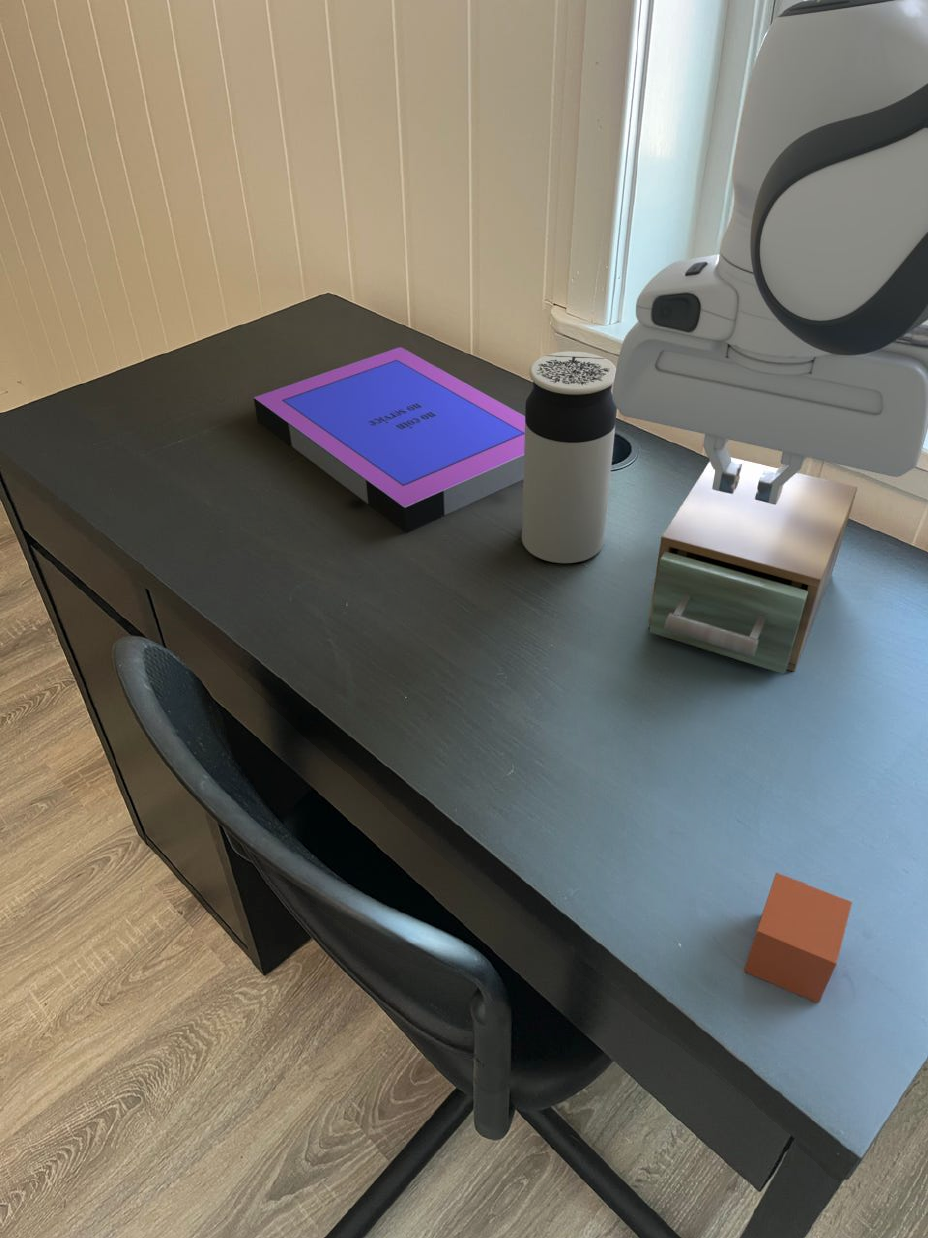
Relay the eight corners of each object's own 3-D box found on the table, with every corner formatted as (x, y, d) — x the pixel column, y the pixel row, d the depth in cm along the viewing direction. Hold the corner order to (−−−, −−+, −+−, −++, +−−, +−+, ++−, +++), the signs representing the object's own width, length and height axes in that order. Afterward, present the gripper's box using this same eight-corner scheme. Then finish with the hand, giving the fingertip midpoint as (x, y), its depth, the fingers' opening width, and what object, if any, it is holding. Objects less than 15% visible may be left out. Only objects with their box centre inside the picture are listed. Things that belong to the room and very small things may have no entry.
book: (400, 346, 120) (563, 437, 101) (401, 368, 121) (561, 461, 103) (253, 397, 110) (404, 507, 92) (257, 420, 112) (406, 532, 94)
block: (834, 942, 59) (852, 901, 56) (818, 1004, 56) (836, 964, 53) (762, 913, 61) (776, 872, 58) (743, 971, 58) (756, 931, 55)
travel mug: (595, 572, 88) (611, 396, 77) (512, 558, 90) (516, 384, 78) (610, 525, 94) (627, 354, 82) (532, 513, 96) (538, 344, 84)
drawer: (770, 708, 73) (791, 633, 68) (631, 663, 77) (641, 588, 72) (820, 582, 85) (841, 509, 80) (697, 548, 89) (710, 477, 84)
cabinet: (794, 672, 78) (821, 579, 71) (648, 626, 82) (661, 536, 76) (831, 575, 87) (858, 486, 81) (699, 539, 92) (714, 453, 86)
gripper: (974, 313, 56) (907, 507, 65) (647, 260, 64) (627, 441, 73) (961, 354, 52) (892, 556, 61) (613, 293, 60) (596, 480, 69)
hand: (746, 493), depth 67 cm, fingers closed
